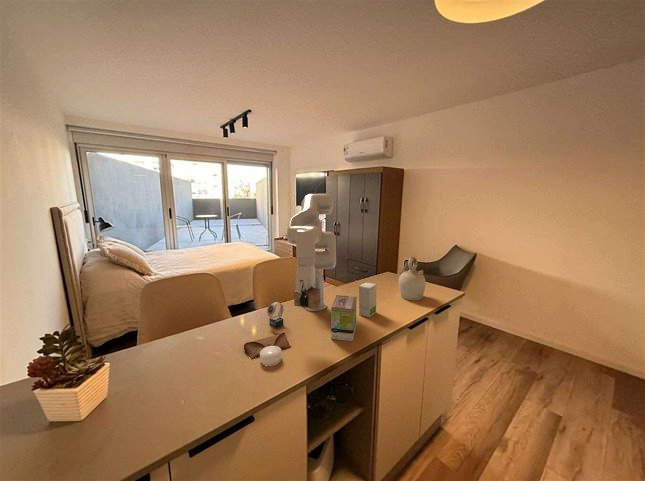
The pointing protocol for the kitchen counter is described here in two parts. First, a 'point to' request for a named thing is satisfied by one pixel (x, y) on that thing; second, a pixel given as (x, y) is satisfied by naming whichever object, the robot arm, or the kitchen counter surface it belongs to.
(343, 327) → the tea box
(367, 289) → the skincare box
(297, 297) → the walnut box
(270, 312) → the watch
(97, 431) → the kitchen counter surface
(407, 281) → the jug
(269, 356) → the cream white dome
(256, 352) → the sunglasses case
